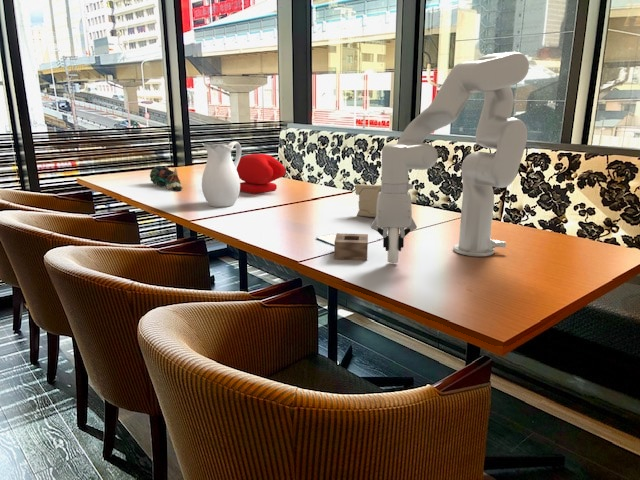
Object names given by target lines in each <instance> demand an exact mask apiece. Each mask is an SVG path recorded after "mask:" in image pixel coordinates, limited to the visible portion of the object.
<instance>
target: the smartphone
mask: <svg viewBox="0 0 640 480" xmlns="http://www.w3.org/2000/svg"><path fill="white" fill-rule="evenodd" d="M335 238H336V234H335V233H332V234H326V235H321V236H317V237H316V240H318V241H320V242H322V243H325V244H328V245H330V246H333V247H334V245H335Z"/></svg>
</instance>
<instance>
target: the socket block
mask: <svg viewBox="0 0 640 480" xmlns="http://www.w3.org/2000/svg"><path fill="white" fill-rule="evenodd" d="M335 235H336V238H335V245H334V246H333V247H334V253H333V254H334V255H333V256H334V260H344V261H345V260H349V261H368V248H369V245H368V243H369V242H368V241H369V238H368V237H369V234H368V233H367V234H366V233H336V234H335Z"/></svg>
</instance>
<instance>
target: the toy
mask: <svg viewBox="0 0 640 480" xmlns="http://www.w3.org/2000/svg"><path fill="white" fill-rule="evenodd" d="M236 170H237V173H238V175H239V179H240V180H241V181H243V182H241V181H240V192H244V193H248V194H253V195H254V194H256V195H257V194H261V193H267V192H274V191H276V190H277V189H278V188H277V186H278V185H277V184H276V183H274V181H276V180H278V179H281V178H283V177H285V174H286V167H285V166H284V165H283V164H282V163H281V162H280V161H279V160H278V159H276V158H275V157H274V156H272V155H269V154H265V153H245V154H241V158H240V161H239V163H238V166H237V169H236Z"/></svg>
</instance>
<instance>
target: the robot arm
mask: <svg viewBox="0 0 640 480" xmlns="http://www.w3.org/2000/svg"><path fill="white" fill-rule="evenodd" d="M529 69H530V63H529V59H528V58H527V56H526V55H525V54H523V53H521V52H517V51H510V52H498V53H492V54H491V53H490V54H486V55H482V56H481V57H479V58H478V59H477V60H473V61H470V60H469V61H463V62H459V63H456V64H455V65H454V66H453V67H452V68H451V70H450V71H449V73H448V74H447V76H446V78H445V80H444V81H443V83H442V85H441V86H440V88H439V89H438V92H437V93H436V95H435V96H434V98H433V100H432V102H431V103H430V105H429V106H428V107H426V109H424V110H423V111H422V112H421V113H419V114H418V115H417V116H416V117H415V118H414V119H412V121H410V122H409V124H408V125H407V126H406V127H405V128H404V130H403V131H402V133H401V135H400V137H399V139H398V140H397V142H396V143H391V144H385V145H383V147H382V149H381V178H380V179H381V184H380V185H381V192H379V194H378V199H377V210H376V218H374V220H373V222H372V223H371V225H370V228H371V229H372V230H374V231H376V232H378V234H380V235H381V236H382V239H383V240H382V241H383V242H382V243H383V245H382V246H383V248H385V252H388V228H399V252H402V248H404V245H405V243H404V242H405V241H404V240H405V239H404V238H406V236H407V235H408V234H409V233H410V232H412V231H414V230H416V229H417V227H418V226H417V224H416V223H415V220H414V219H413V206H412V205H413V204H412V195H411V192H410V190H413V189H414V184H411V183H409V171H410V170H418V171H425V170H429V169H431V168H432V167H434V166H435V164H436V163H437V161H438V156H439V153H438V150H437V149H436V148H435V146H433V145H432V144H430V143H427V142H424V141H425V139H426V138H427V137H428V136H430V135H431V134H432V133H433V132H435V131H437V130H439V129H442V128H444V127H447V126H448V125H450V124H452V123H454V122H455V121H456V120H457V119H458V118H459V115H460V114H461V112H462V111H463V109H464V108H465V105H466V104H467V102H468V101H469V99H470V97H471V96H472V95H473V94H474V93H476V94H477V93H480V94H481V93H483V94H484V102H483V105H482V108H481V109H482V110H481V113H480V117H479V120H478V124H477V128H476V132H475V142H476V144H477V145H478V146H480V147H481V148H482V147H483V148H485V149H486V148H487V149H493V150H496V151H495V153H493V152H486V151H474V152H471V153H469V154H468V155H466V157H464V159H463V161H462V164H461V167H460V168H461V179H462V199H461V212H460V225H459V235H458V236H459V237H458V243H456V244H454V245H453V248H452V249H453V251H454V253H457V254H458V255H459V254H460V255H462V256H468V257H489V256H492V255H494V253H495V248H500V249H501V248H503V249H505V248H506V245H507V244H506V241H500V240H498V239H492V237H491V235H492V227H493V226H492V223H493V216H494V205H495V192H494V189H493V187H494V188H500V189H501V188H502V189H503V188H507V187H509V186H510V185H511V184H512V183H513V182H514V181H515V179H516V177H517V175H518V171H519V168H520V165H521V162H522V160H523V159H522V158H523V155H524V153H525V148H526V147H527V146H526V144H527V142H528V129H527V126H526V124H525V122H524V121H523V120H522V119H519V118H516V117H511V116H512V113H513V108H514V102H515V99H514V93H513V90H512V87H511V86H513V85H517V84H519V83H520V82H522V81H523V80H524V79H525V78H526V76H527V75H528V73H529Z"/></svg>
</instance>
